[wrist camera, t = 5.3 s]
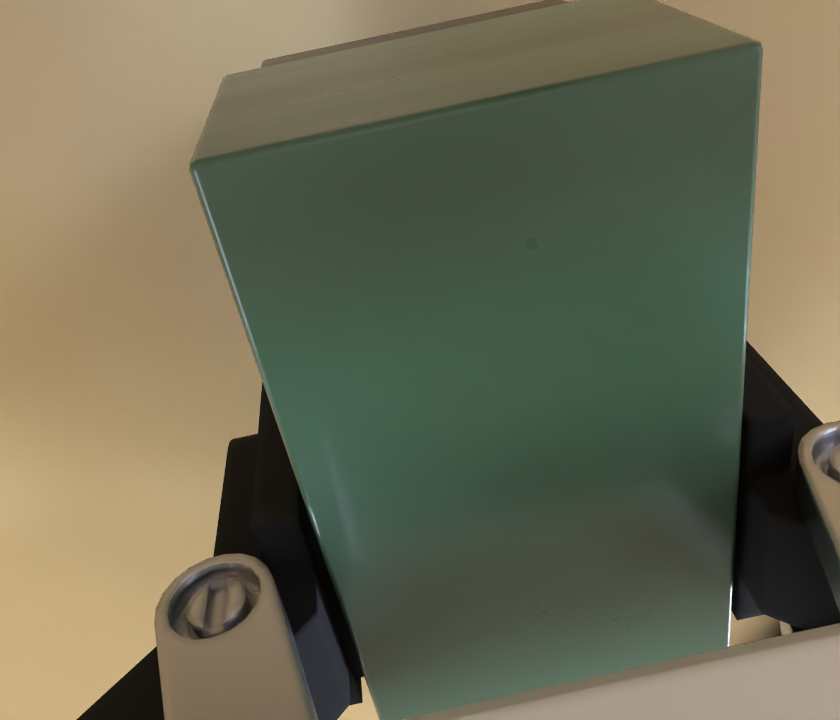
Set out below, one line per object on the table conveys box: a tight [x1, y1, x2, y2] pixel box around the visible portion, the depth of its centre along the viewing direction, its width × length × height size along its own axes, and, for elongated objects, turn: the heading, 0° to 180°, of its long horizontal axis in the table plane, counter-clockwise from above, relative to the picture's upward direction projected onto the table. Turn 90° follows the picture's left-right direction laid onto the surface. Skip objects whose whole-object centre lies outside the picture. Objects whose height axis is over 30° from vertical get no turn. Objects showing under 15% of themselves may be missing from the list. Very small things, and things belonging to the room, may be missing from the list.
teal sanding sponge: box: [190, 0, 763, 720], centre depth 11 cm, size 11×4×5 cm, turn 10°
